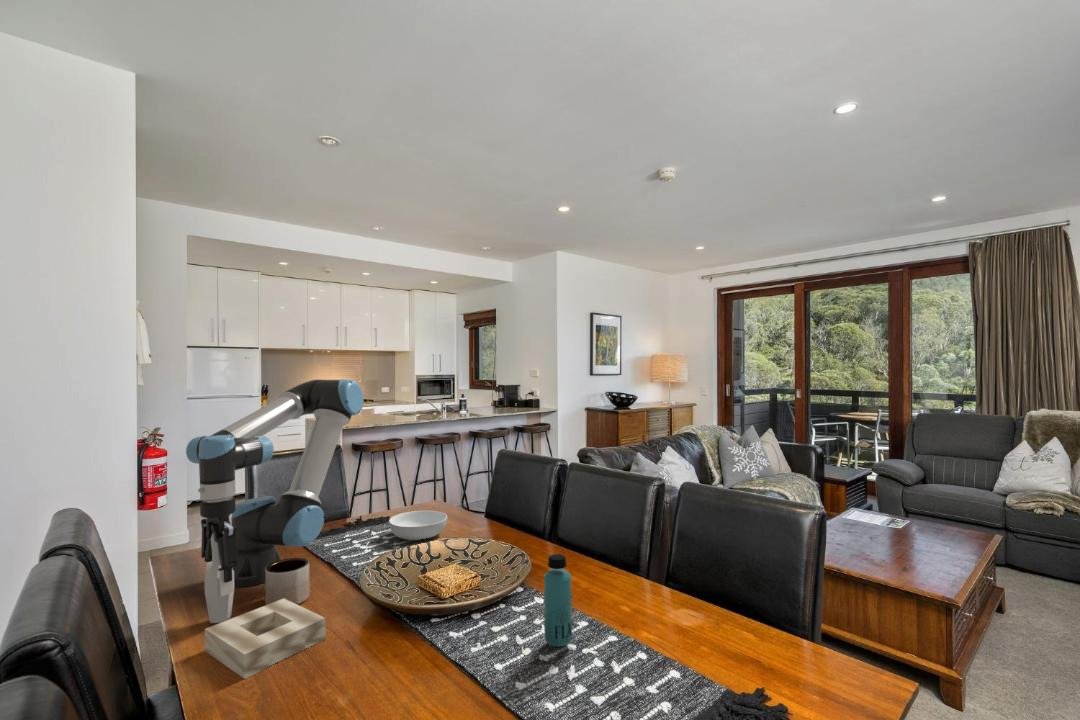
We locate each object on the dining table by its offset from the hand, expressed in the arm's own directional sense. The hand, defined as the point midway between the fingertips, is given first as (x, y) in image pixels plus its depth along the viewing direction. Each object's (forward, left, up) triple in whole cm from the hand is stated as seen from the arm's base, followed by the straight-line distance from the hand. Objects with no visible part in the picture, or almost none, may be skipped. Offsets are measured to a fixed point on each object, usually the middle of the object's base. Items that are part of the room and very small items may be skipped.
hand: (219, 590), depth 130 cm
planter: (-16, +3, -8) cm, 18 cm away
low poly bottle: (0, 0, -7) cm, 7 cm away
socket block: (-1, +21, -8) cm, 22 cm away
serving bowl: (-71, -7, -8) cm, 72 cm away
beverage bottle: (-38, +76, -8) cm, 85 cm away
